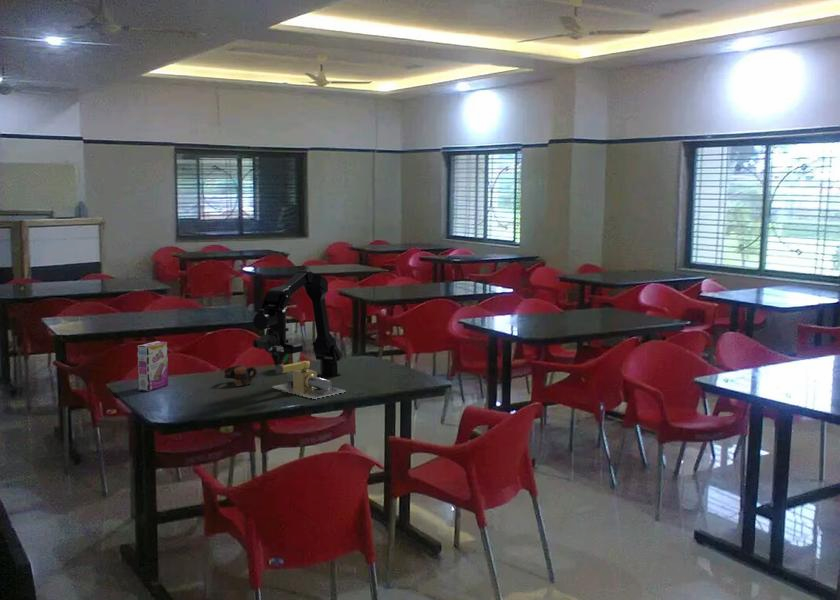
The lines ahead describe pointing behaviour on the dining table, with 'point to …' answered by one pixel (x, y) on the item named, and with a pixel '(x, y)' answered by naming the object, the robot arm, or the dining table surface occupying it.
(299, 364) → the lever
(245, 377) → the pottery mug
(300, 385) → the valve pipe
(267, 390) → the dining table surface
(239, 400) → the dining table surface
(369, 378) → the dining table surface
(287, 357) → the food container
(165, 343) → the candy bar box
